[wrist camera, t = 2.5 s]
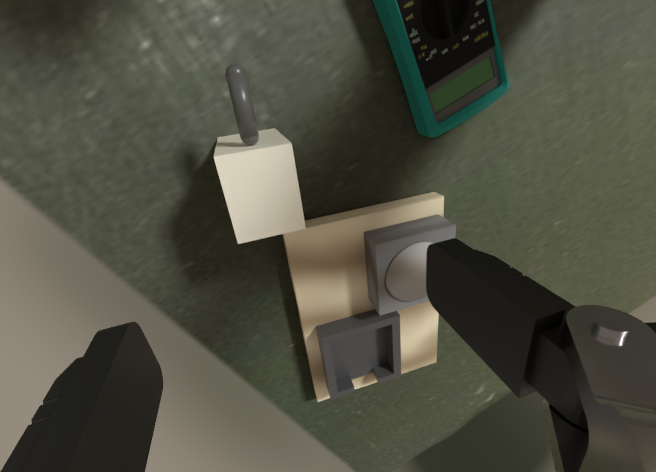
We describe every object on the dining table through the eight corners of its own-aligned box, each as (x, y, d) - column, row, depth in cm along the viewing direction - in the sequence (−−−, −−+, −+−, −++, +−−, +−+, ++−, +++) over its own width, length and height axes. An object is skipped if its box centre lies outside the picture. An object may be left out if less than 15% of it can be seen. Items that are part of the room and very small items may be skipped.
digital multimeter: (437, -144, 19) (469, -179, 17) (490, 91, 27) (518, 92, 24) (335, -80, 19) (351, -106, 17) (416, 138, 27) (436, 143, 24)
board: (280, 225, 26) (289, 248, 22) (434, 191, 29) (464, 207, 25) (314, 390, 35) (324, 425, 31) (429, 352, 38) (450, 381, 34)
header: (315, 326, 29) (320, 338, 28) (391, 304, 31) (399, 315, 29) (326, 386, 33) (331, 400, 32) (393, 364, 34) (401, 376, 33)
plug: (200, 72, 20) (188, 66, 14) (263, 65, 21) (277, 56, 15) (237, 211, 25) (240, 253, 18) (288, 201, 25) (307, 237, 19)
